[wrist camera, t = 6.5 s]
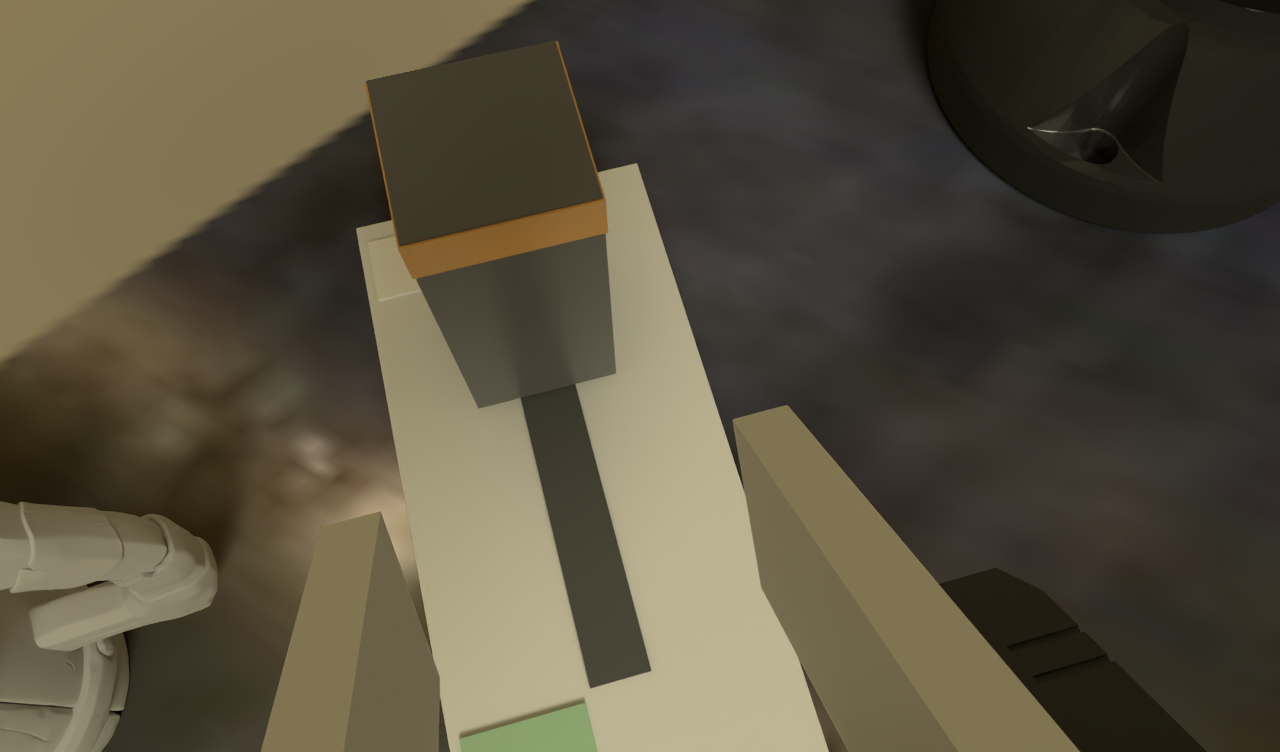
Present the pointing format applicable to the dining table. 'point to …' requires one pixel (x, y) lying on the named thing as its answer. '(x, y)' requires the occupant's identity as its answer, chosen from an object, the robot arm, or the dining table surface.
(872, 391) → the dining table surface
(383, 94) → the lever
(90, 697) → the mug
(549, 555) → the switch box
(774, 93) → the dining table surface
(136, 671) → the dining table surface
